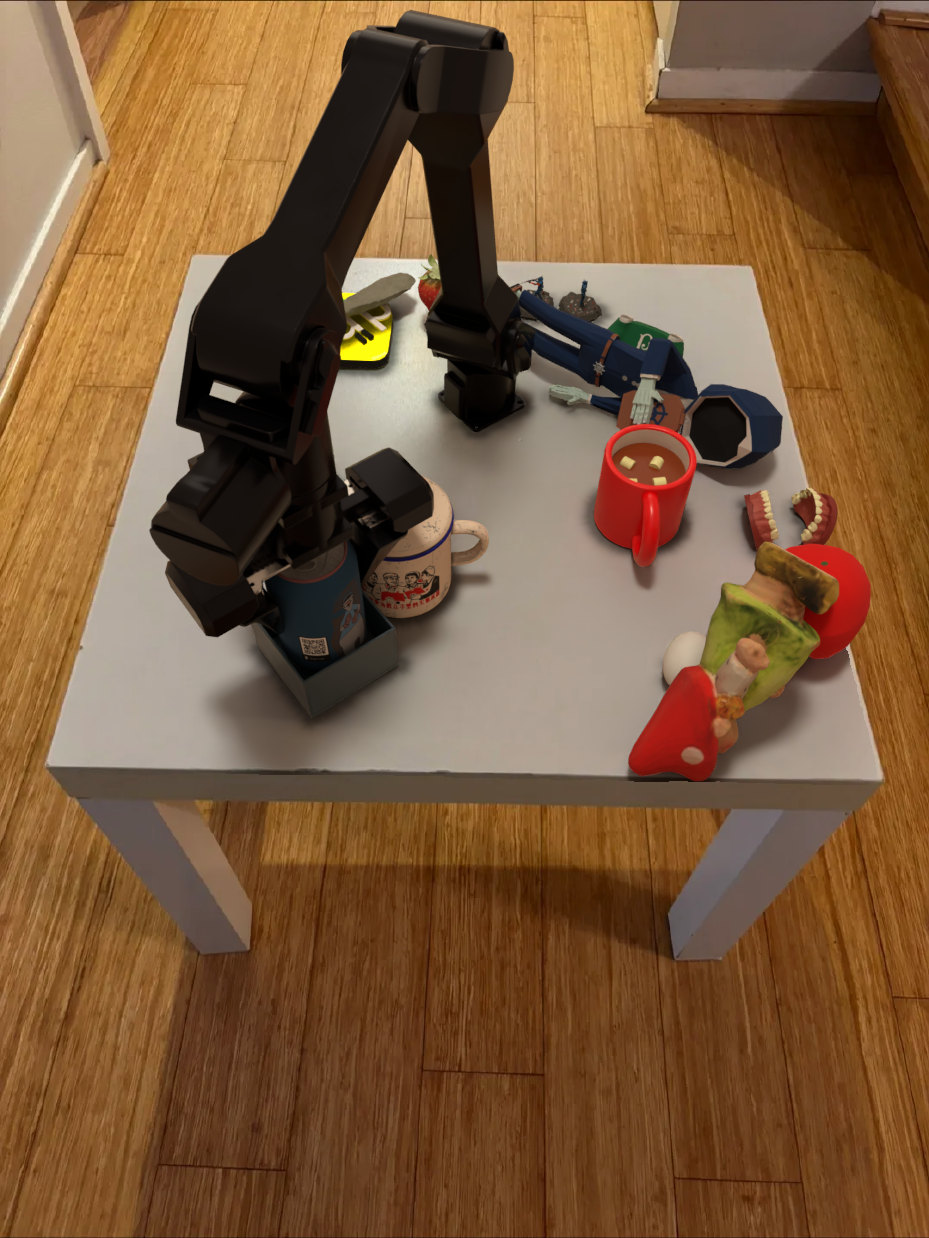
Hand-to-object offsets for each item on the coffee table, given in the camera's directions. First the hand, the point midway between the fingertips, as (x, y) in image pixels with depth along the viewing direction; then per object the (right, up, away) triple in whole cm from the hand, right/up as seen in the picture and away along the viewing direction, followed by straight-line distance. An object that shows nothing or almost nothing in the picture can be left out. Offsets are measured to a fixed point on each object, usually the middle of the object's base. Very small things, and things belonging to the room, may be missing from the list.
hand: (318, 606), depth 75 cm
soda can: (0, -3, +4) cm, 5 cm away
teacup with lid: (+7, +2, +11) cm, 13 cm away
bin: (0, -4, +6) cm, 7 cm away
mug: (+27, +7, +14) cm, 31 cm away
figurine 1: (+15, +31, +22) cm, 40 cm away
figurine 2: (+37, +3, -5) cm, 37 cm away
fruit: (+9, +31, +30) cm, 44 cm away
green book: (+29, +25, +27) cm, 47 cm away
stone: (+2, +31, +26) cm, 41 cm away
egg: (+29, -6, +5) cm, 30 cm away
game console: (-5, +29, +29) cm, 42 cm away
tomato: (+39, +4, +1) cm, 39 cm away
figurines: (+21, +33, +32) cm, 50 cm away
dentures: (+36, +8, +12) cm, 39 cm away
